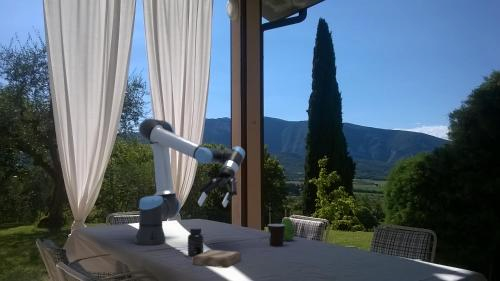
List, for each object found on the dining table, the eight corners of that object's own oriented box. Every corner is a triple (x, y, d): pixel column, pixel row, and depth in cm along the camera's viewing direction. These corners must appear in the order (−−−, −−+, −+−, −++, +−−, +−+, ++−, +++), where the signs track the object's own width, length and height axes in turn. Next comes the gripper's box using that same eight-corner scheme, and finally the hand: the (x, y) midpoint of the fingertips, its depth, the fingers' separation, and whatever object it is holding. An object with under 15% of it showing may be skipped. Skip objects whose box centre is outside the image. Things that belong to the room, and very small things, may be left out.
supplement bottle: (188, 254, 194) (188, 227, 195) (203, 254, 195) (203, 227, 196) (187, 257, 187) (187, 229, 188) (203, 257, 188) (203, 229, 189)
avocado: (277, 239, 234) (277, 217, 235) (290, 238, 237) (290, 216, 238) (284, 242, 227) (284, 219, 227) (297, 241, 230) (297, 218, 230)
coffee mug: (283, 247, 213) (283, 226, 213) (266, 246, 214) (266, 225, 215) (286, 243, 224) (286, 223, 225) (270, 242, 226) (270, 222, 226)
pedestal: (192, 264, 174) (192, 256, 175) (208, 257, 189) (208, 249, 189) (227, 267, 169) (227, 258, 170) (240, 259, 184) (241, 251, 184)
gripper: (253, 177, 212) (237, 211, 198) (210, 177, 224) (193, 209, 210) (247, 166, 207) (231, 200, 193) (204, 166, 219) (186, 198, 205)
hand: (211, 204), depth 201 cm, fingers open, 13 cm apart
